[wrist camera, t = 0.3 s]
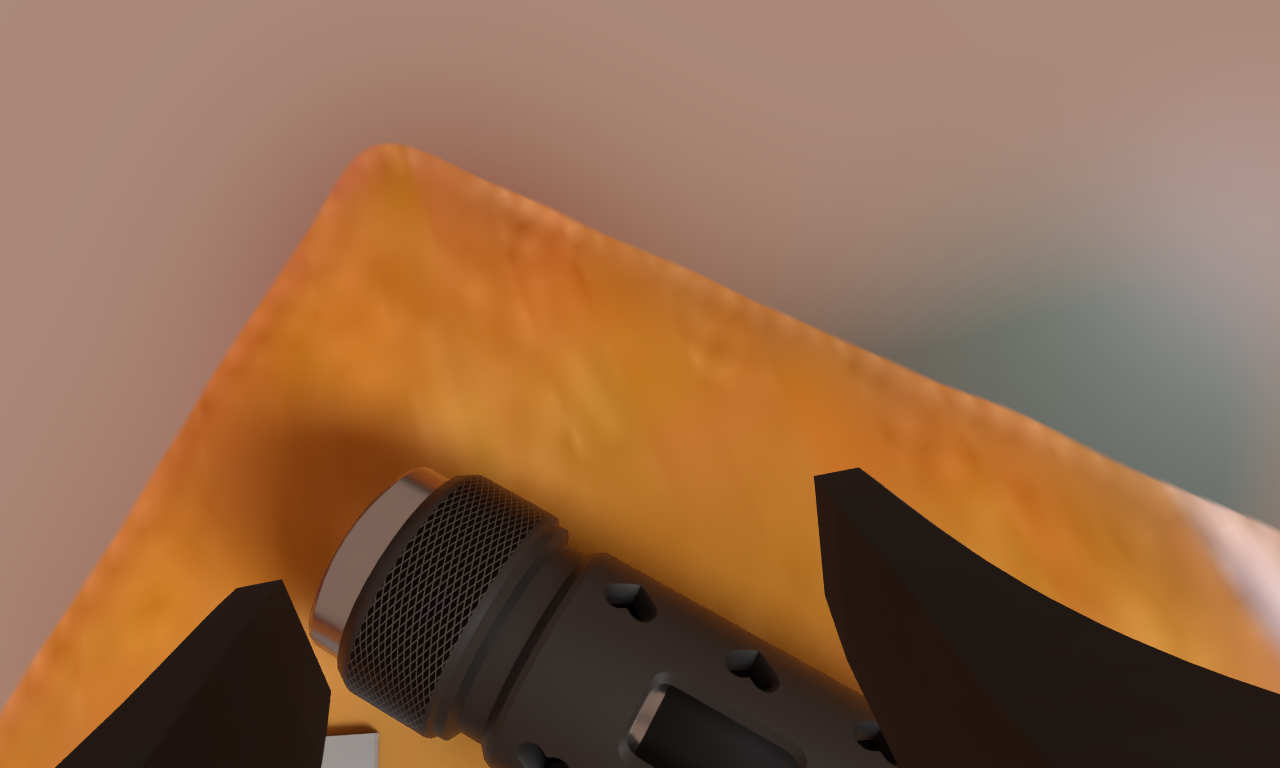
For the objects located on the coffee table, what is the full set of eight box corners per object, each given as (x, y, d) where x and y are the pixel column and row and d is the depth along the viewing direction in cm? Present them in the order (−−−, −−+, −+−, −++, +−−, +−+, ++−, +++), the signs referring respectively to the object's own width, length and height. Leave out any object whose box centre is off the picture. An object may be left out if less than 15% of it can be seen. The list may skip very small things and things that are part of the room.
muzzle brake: (933, 1018, 37) (1037, 1143, 27) (350, 664, 41) (255, 659, 31) (1022, 790, 39) (1147, 827, 29) (464, 479, 43) (410, 420, 34)
